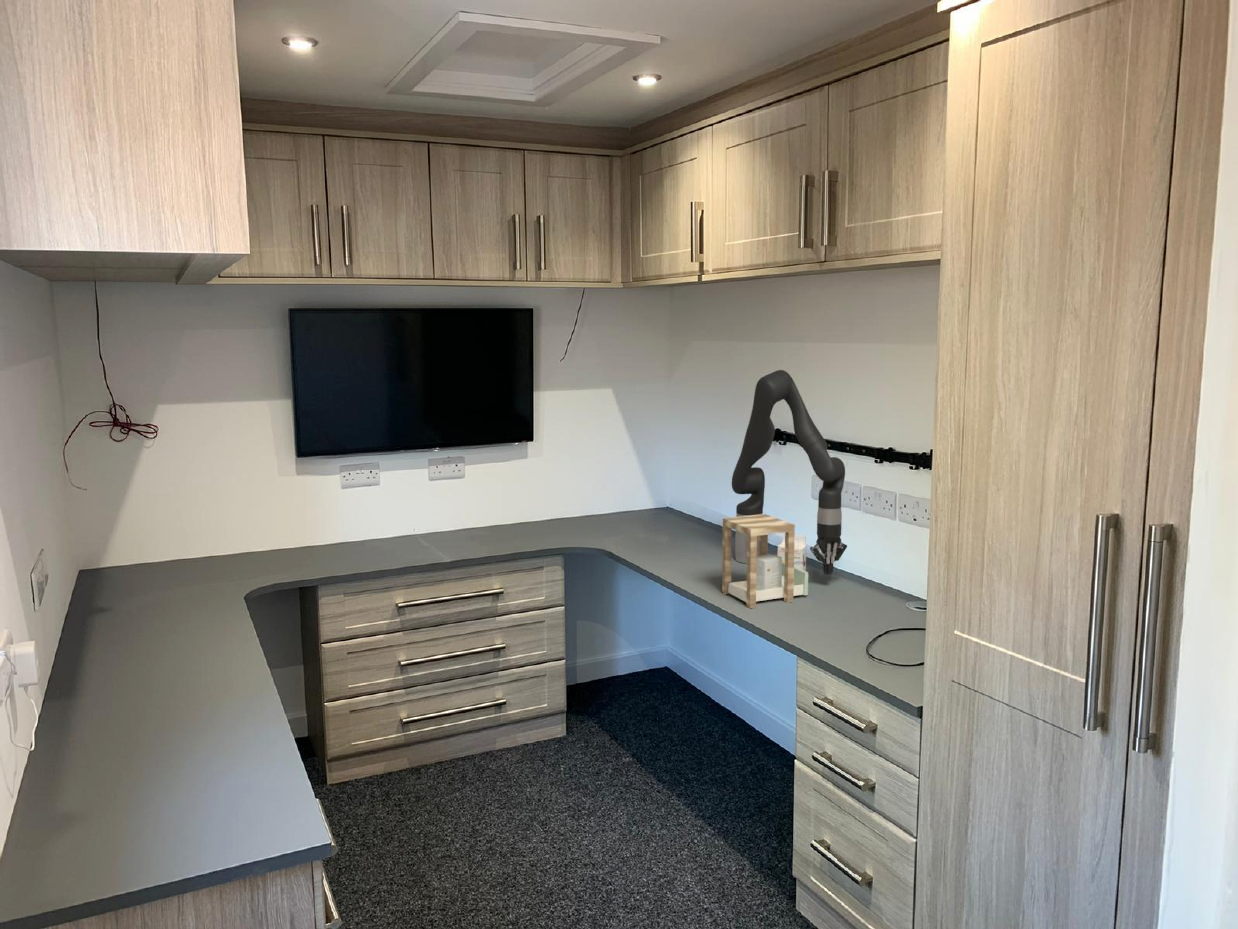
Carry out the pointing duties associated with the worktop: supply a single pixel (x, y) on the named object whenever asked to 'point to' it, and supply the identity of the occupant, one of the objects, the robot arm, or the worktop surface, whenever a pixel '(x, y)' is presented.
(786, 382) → the robot arm
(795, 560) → the ink box
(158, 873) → the worktop surface
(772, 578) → the small box
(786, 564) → the wooden step stool
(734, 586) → the drawer
